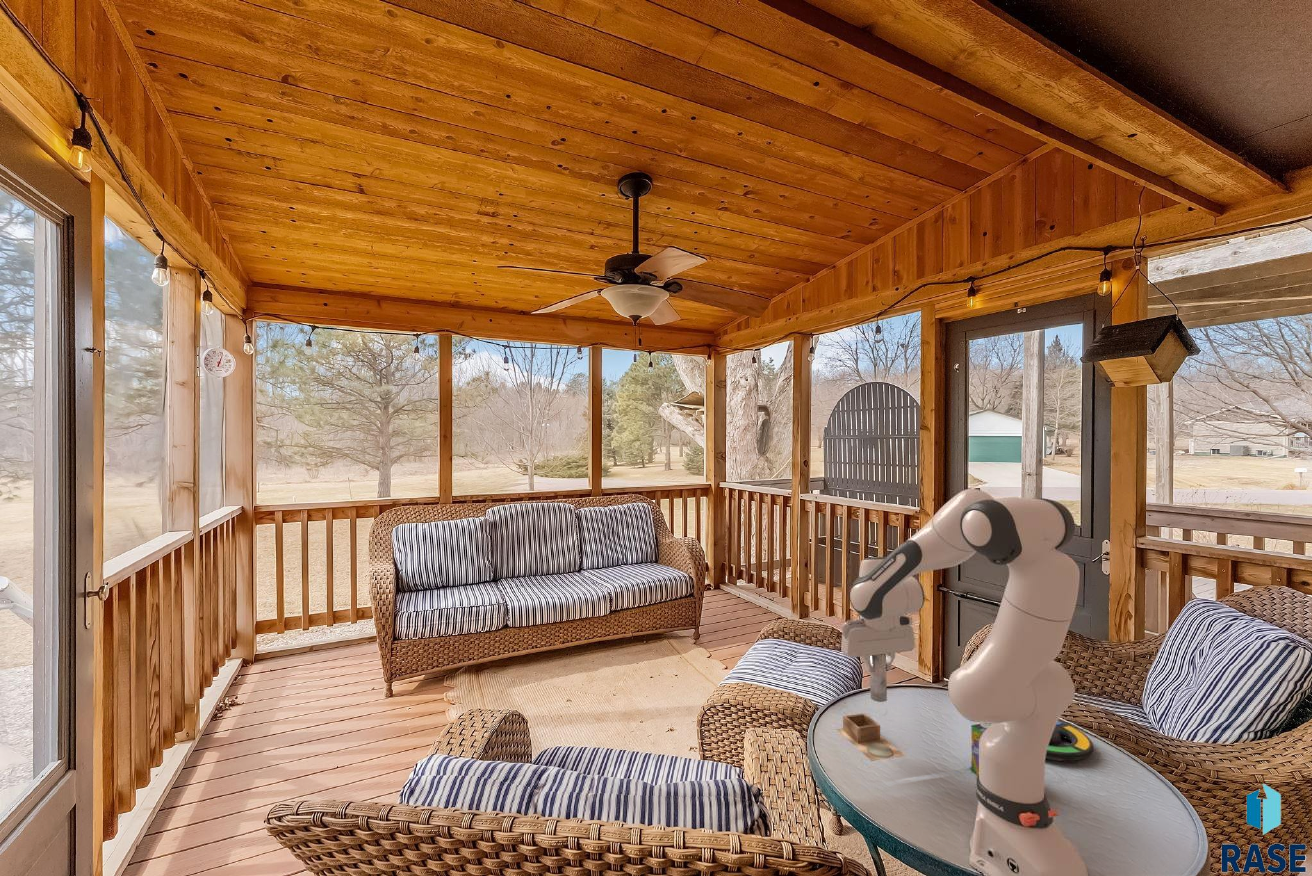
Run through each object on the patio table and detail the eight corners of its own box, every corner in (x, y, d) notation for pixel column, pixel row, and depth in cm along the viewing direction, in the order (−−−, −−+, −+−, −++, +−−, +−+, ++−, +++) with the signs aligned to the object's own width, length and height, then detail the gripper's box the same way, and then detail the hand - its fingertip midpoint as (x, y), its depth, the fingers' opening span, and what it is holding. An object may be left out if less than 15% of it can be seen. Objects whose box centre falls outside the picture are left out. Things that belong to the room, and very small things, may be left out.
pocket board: (904, 758, 147) (904, 739, 147) (871, 764, 144) (871, 744, 144) (867, 728, 162) (867, 710, 162) (836, 732, 160) (836, 715, 160)
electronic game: (1113, 755, 149) (1113, 737, 149) (1056, 774, 140) (1056, 755, 140) (1027, 716, 170) (1027, 700, 170) (973, 730, 162) (973, 714, 162)
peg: (890, 700, 148) (889, 654, 148) (876, 702, 147) (875, 656, 147) (880, 694, 152) (879, 649, 152) (867, 696, 151) (866, 650, 151)
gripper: (849, 624, 144) (850, 678, 144) (917, 617, 150) (919, 670, 149) (835, 617, 151) (836, 669, 150) (901, 611, 156) (903, 662, 155)
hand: (878, 670), depth 150 cm, fingers closed on peg, 4 cm apart
